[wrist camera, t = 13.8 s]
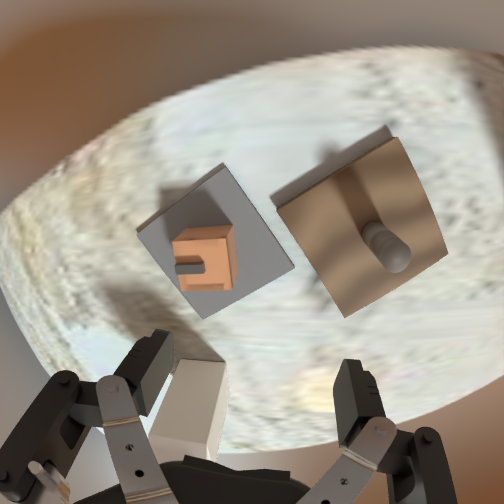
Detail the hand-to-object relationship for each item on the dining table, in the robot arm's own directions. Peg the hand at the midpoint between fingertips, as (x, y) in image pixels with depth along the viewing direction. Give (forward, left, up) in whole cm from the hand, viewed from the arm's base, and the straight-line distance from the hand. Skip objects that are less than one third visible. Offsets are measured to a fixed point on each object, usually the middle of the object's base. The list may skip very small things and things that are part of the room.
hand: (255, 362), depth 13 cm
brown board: (-6, -10, -22) cm, 25 cm away
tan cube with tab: (+2, +7, -22) cm, 23 cm away
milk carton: (-14, +21, -23) cm, 34 cm away
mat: (+2, +7, -22) cm, 24 cm away
